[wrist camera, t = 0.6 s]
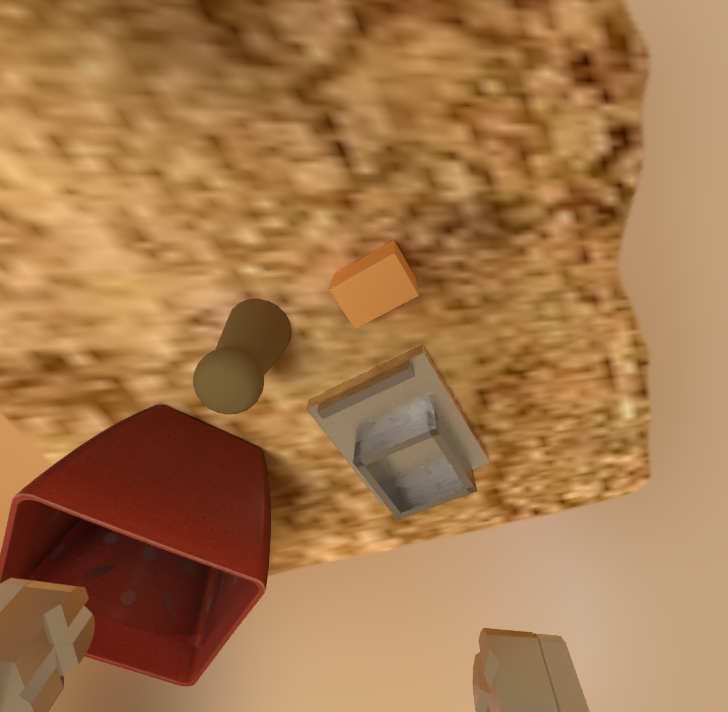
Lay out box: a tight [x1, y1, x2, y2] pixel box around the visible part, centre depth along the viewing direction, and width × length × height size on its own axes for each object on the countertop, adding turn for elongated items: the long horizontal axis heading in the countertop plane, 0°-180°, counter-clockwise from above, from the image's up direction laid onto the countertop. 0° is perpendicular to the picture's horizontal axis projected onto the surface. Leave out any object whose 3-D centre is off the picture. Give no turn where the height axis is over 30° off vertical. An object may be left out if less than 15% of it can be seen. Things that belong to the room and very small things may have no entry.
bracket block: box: [329, 240, 419, 329], centre depth 38 cm, size 4×6×4 cm, turn 121°
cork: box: [193, 299, 291, 414], centre depth 38 cm, size 6×6×11 cm
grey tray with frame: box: [307, 345, 490, 520], centre depth 46 cm, size 15×13×4 cm
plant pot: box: [0, 405, 271, 686], centre depth 45 cm, size 19×19×17 cm
